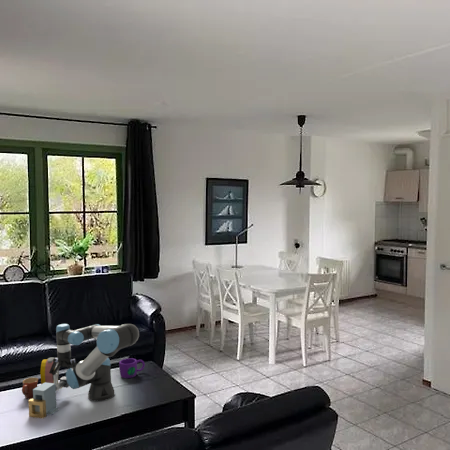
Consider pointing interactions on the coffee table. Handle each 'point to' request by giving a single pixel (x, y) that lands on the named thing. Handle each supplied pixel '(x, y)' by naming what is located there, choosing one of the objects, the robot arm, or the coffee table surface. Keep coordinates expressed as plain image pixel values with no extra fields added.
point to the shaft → (62, 383)
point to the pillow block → (46, 397)
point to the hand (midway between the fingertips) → (65, 386)
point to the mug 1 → (29, 387)
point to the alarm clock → (47, 370)
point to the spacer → (32, 408)
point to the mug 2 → (129, 367)
